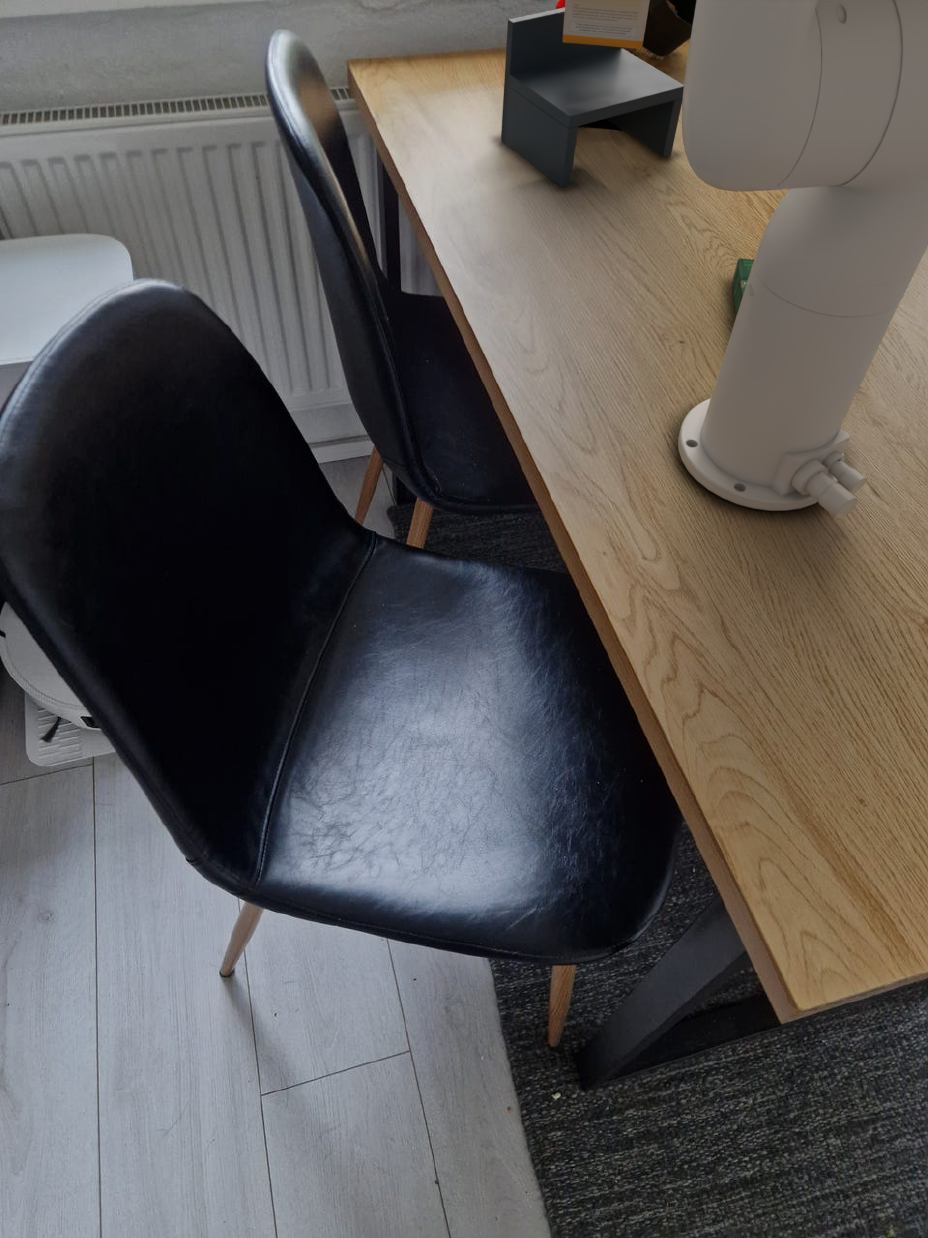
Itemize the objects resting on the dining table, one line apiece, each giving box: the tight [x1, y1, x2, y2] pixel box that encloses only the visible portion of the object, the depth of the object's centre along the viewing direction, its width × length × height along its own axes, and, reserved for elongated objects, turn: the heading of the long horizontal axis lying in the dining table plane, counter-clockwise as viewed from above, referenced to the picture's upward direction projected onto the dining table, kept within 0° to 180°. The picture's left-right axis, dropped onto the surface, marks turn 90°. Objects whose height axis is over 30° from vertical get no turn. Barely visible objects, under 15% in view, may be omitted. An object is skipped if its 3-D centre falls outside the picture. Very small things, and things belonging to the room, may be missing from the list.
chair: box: [500, 8, 684, 188], centre depth 94 cm, size 12×15×12 cm
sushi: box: [642, 0, 697, 61], centre depth 110 cm, size 8×8×8 cm
